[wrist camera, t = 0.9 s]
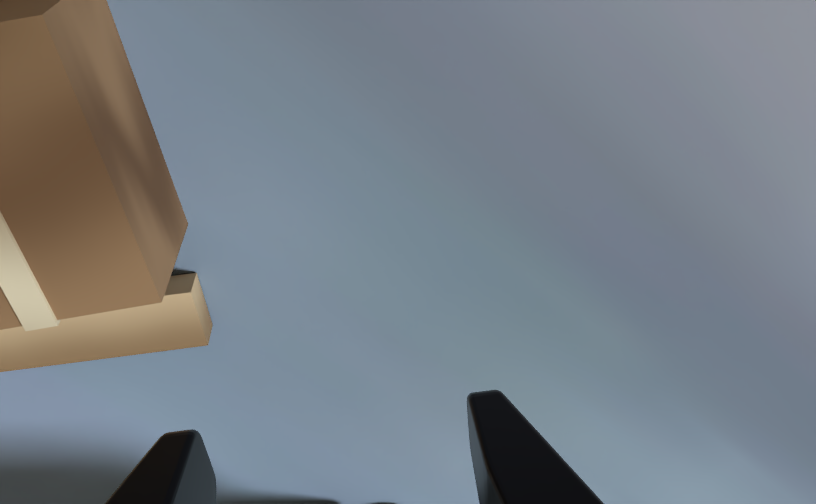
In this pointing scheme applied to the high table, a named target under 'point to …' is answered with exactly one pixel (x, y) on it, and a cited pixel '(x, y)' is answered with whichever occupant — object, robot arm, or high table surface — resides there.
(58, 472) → the high table surface
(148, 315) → the light brown long piece
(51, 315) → the crate
